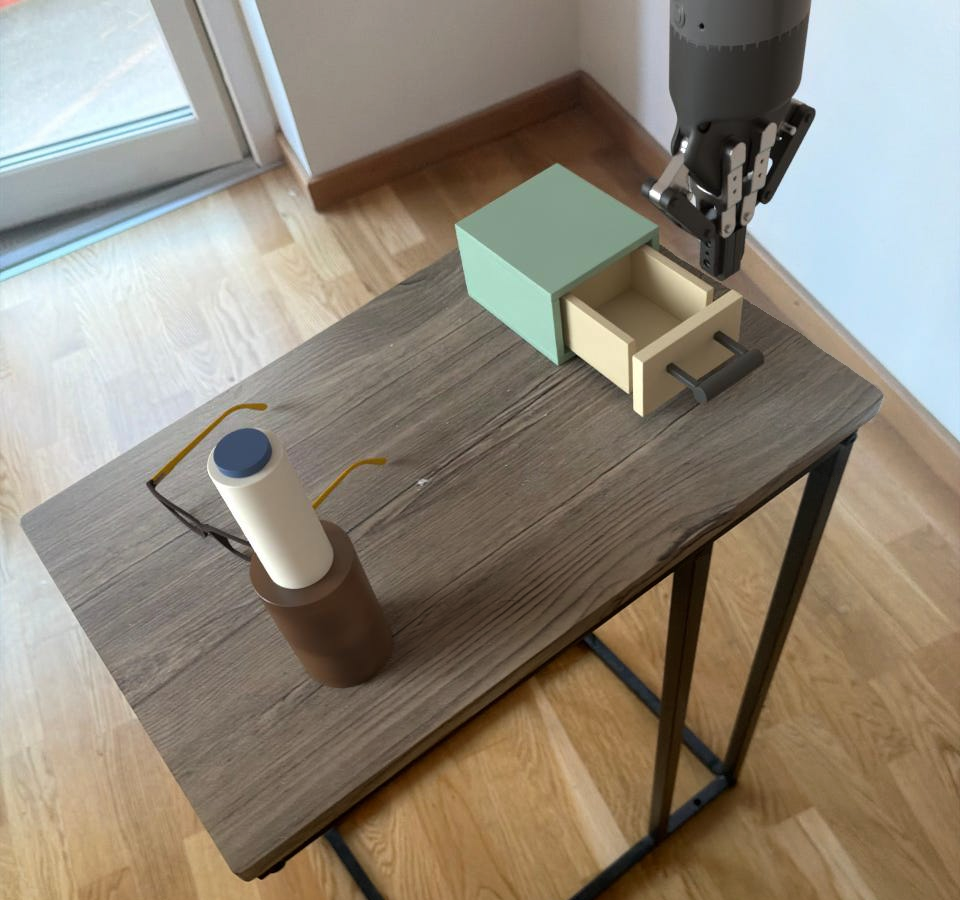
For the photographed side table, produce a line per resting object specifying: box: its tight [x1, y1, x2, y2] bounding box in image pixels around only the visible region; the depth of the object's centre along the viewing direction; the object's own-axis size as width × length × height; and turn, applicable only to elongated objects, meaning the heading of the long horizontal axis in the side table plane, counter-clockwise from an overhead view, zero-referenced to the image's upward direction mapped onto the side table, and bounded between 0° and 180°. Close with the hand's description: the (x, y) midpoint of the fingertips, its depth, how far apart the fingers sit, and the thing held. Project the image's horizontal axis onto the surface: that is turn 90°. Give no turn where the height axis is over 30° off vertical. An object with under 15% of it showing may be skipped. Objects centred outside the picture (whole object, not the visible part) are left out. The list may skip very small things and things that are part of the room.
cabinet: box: [454, 162, 660, 367], centre depth 83 cm, size 14×12×8 cm
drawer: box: [559, 244, 766, 418], centre depth 76 cm, size 17×10×6 cm, turn 36°
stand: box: [248, 518, 393, 689], centre depth 65 cm, size 7×7×11 cm
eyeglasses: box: [145, 402, 388, 563], centre depth 77 cm, size 14×14×4 cm
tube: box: [206, 427, 333, 589], centre depth 56 cm, size 4×4×11 cm
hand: (721, 271), depth 65 cm, fingers closed
